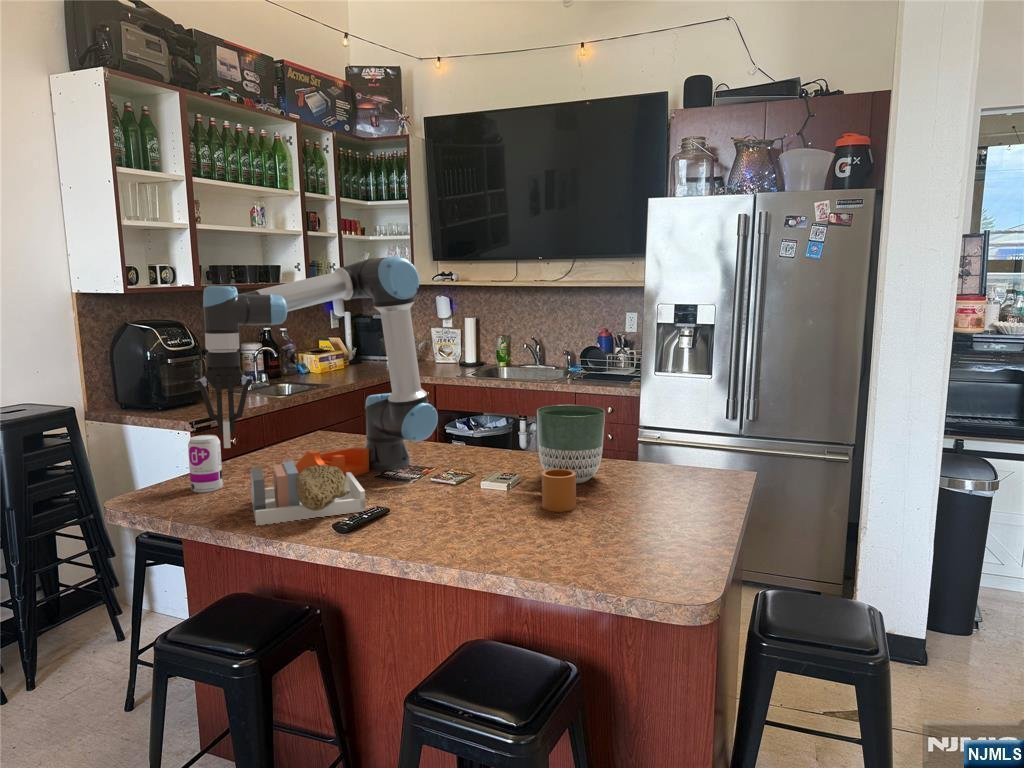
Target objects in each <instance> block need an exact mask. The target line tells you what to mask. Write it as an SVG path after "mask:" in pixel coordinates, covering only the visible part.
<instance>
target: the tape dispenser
mask: <svg viewBox="0 0 1024 768" xmlns="http://www.w3.org/2000/svg"><path fill="white" fill-rule="evenodd" d="M317 465H318V466H319V465H327V466H333V467H337V468H339V469H340V470H341V471H342V472H343V474H344V476H345V477H346V472H351V473H352V475H353V476H354V477H357V476H360V475H363V474H365V473H368V472H370V470H369V449H367V448H365V447H359V446H355V447H350V448H345V449H339V450H332V451H328V452H324V453H321V451H317V450H311V451H308V452H306V453H305V454H304V455H303V456H302V458H301V459H299V460H298V462H296V464H295V467H296V469H297V471H298V473H301V471H303V470H304V469H305V468H306V467H310V466H317Z"/></svg>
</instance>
